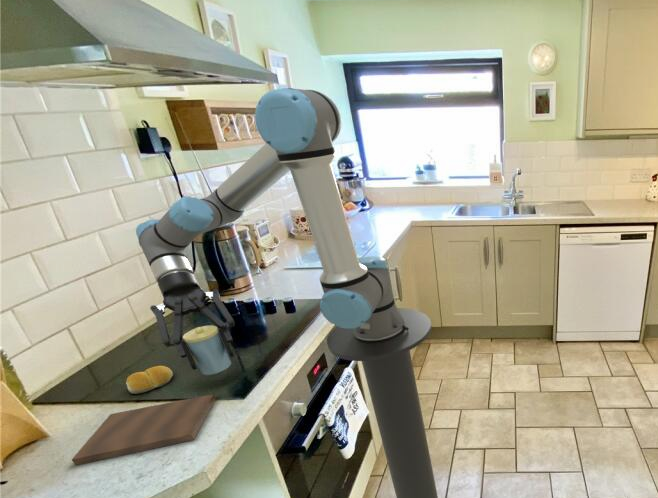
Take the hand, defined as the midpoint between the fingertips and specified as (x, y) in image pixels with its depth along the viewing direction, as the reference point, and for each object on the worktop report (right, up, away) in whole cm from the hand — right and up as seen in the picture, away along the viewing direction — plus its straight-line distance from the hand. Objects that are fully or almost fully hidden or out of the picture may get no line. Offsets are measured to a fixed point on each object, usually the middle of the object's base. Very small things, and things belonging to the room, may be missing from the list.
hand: (213, 360), depth 97 cm
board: (-6, -14, -9) cm, 18 cm away
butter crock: (-2, -2, +4) cm, 5 cm away
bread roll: (-20, -7, +6) cm, 22 cm away
